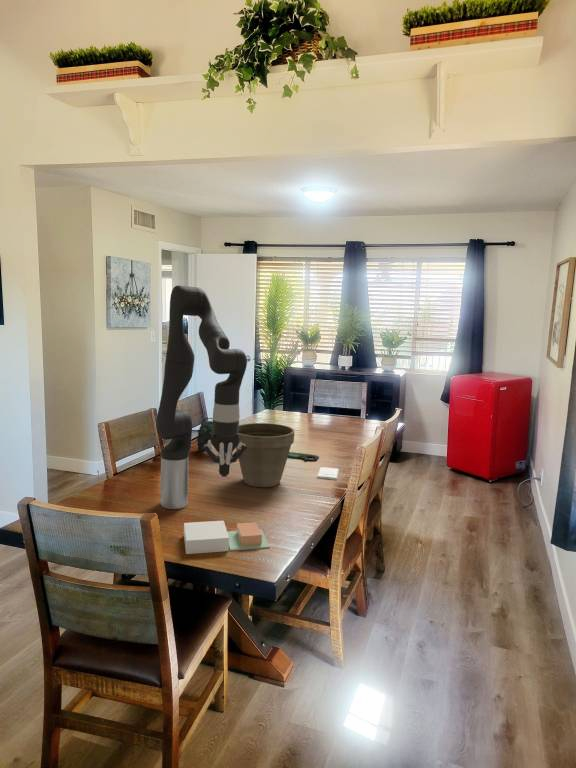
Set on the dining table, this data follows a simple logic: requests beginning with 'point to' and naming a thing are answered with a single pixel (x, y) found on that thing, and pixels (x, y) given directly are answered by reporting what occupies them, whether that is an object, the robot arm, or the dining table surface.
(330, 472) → the external hard drive
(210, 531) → the block
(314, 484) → the dining table surface
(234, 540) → the green mat
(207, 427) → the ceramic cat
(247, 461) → the plant pot
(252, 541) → the terracotta tile
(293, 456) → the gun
